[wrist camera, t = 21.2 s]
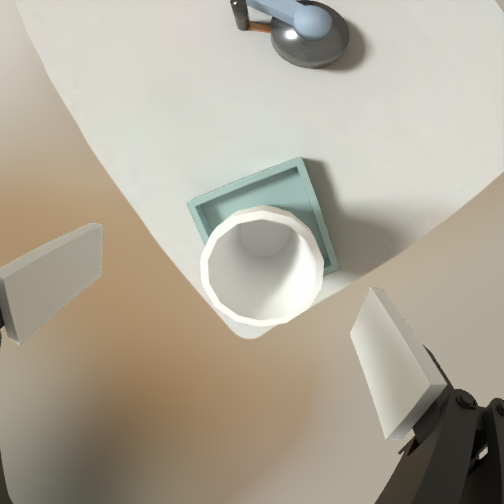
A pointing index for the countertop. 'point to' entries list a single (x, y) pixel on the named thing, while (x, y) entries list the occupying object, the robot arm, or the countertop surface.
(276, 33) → the crank base
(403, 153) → the countertop surface
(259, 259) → the foam cup
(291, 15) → the crank
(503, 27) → the countertop surface
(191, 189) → the countertop surface
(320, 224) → the tray
